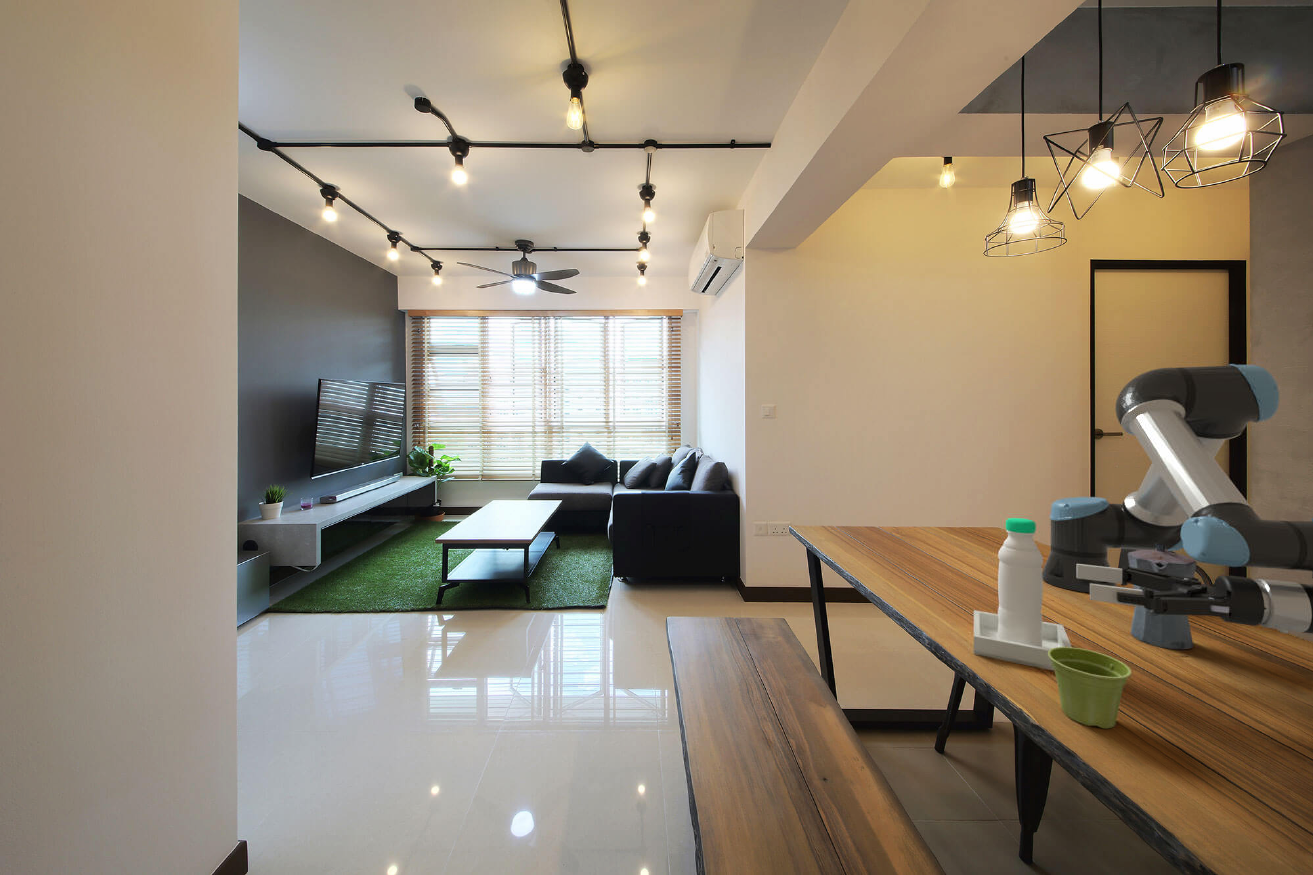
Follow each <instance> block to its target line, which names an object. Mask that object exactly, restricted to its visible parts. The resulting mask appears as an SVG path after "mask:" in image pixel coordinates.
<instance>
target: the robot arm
mask: <svg viewBox="0 0 1313 875" xmlns="http://www.w3.org/2000/svg"><path fill="white" fill-rule="evenodd" d="M1279 403H1280V391H1279V388H1278V384H1277V381H1276V379H1275V378H1274V376H1273V375H1272V374H1271V372H1270V371H1268V370H1267V369H1266V368H1264V367H1262V366H1259V365H1256V364H1235V363H1230V364H1228V365H1213V366H1211V365H1209V366H1188V367H1180V366H1179V367H1161V368H1155V369H1150V370H1149V371H1145V372H1143V373H1141V374H1139V375H1137V376H1135V377H1134V378H1132V379H1131V380H1130V381H1129V382H1128V383H1126V384H1125V385H1124V386H1123V388H1122V389H1121V390H1120V392H1119V394H1118V396H1117V398H1116V402H1115V415H1116V416H1115V417H1116V418H1117V421H1118V423H1119V424H1120V426H1121V428H1122V429H1123V430H1124V431H1125V433H1127V434H1129V435H1131V436H1135V438H1136V439H1137V441H1138V442H1139V444H1140V446H1141V447H1142V449H1143V450H1144V452H1145V454H1146V455H1147V457H1148V458H1149V460H1150V461H1151V464H1150V466H1149V468H1148V470H1147V472H1146V475H1145V476H1144V478H1143V480H1142V482H1141V484H1140V487H1138V490H1136V491H1132V492H1130V493H1129V494H1127V496H1126V497H1125V499H1124V500H1123V502H1122V503H1109V501H1108V499H1107V498H1104V497H1098V496H1097V497H1096V496H1089V497H1088V496H1076V497H1075V496H1074V497H1065V498H1059V499H1056V500H1054V502H1052V504H1051V506H1050V507H1051V508H1050V515H1049V520H1050V552H1049V554H1048V557H1047V559H1046V561H1045V564H1044V567H1043V568H1042V577H1043V581H1044V582H1045V583H1047V584H1050V585H1051V586H1055V587H1059V588H1062V589H1065V590H1070V591H1075V592H1081V593H1089V600H1090V601H1096V602H1102V603H1108V604H1109V603H1110V604H1118V605H1123V606H1132V607H1135V606H1137V607H1143V606H1144V608H1146V609H1148V610H1153V612H1154V613H1156V614H1166V615H1188V616H1202V617H1203V616H1205V617H1207V616H1209V617H1219V618H1220V619H1221V620H1222V621H1224V622H1226V623H1232V624H1239V625H1244V626H1253V627H1255V626H1258V625H1260V626H1262V627H1263V628H1268V629H1274V630H1275V629H1276V630H1278V632H1280V633H1283V634H1288V633H1289V631H1293V632H1295V633H1296V632H1298V633H1303V634H1304V633H1305V634H1313V583H1312V584H1311V583H1299V582H1293V581H1285V580H1275V579H1265V578H1257V579H1256V580H1255V579H1252V578H1251V577H1243V576H1236V575H1225V574H1223V575H1218V576H1217V577H1216V578H1215V580H1214V583H1213V584H1212V585H1208V584H1204V583H1202V581H1199V579H1200V578H1196V577H1195V576H1194V577H1192V578H1191V577H1183V576H1176V575H1171V574H1166V573H1160V572H1155V571H1149V570H1144V569H1139V568H1133V567H1130V566H1129V565H1123V567H1122V568H1117V567H1111V565H1110V563H1109V560H1108V552H1109V551H1108V549H1110V548H1111V549H1122V550H1123V549H1124V550H1134V551H1137V550H1155V549H1156V545H1155V543H1163V544H1166V547H1165V549H1167V552H1177V551H1181V550H1183V549H1184V551H1185V553H1186V554H1187V555H1188V557H1189V558H1191V559H1193V560H1195V561H1196V562H1199V563H1203V564H1209V565H1216V566H1217V565H1218V566H1225V567H1230V568H1231V567H1233V568H1237V567H1242V568H1244V567H1245V568H1246V567H1247V568H1261V569H1263V568H1264V569H1275V570H1276V569H1277V570H1279V569H1280V570H1289V571H1290V570H1292V571H1303V572H1305V571H1306V572H1312V574H1311V575H1312V579H1313V517H1312V518H1311V520H1309V521H1308V520H1307V521H1305V520H1304V521H1303V520H1301V521H1300V520H1294V521H1293V520H1279V519H1278V520H1276V519H1275V520H1274V519H1262V518H1261V517H1260V516H1259V514H1258V513H1257V512H1256V511H1255V510H1254V509H1253V508H1252V507H1251V505H1250V504H1249V503H1248V501H1247V499H1246V498H1245V497H1244V496H1243V494H1242V493H1241V492H1240V491H1239V489H1238V488H1237V487H1236V485H1235V484H1234V483H1233V481H1232V480H1231V479H1230V477H1229V476H1228V475H1227V474H1226V472H1225V470H1223V468H1222V467H1221V466H1220V465H1219V463H1218V462H1217V460H1216V459H1215V458H1216V456H1217V454H1218V453H1219V451H1220V449H1221V448H1222V446H1223V445H1224V444H1225V441H1226V440H1231V439H1234V438H1236V437H1238V436H1240V435H1242V433H1243V432H1244V430H1245V428H1246V427H1247V425H1248V423H1251V422H1252V423H1260V422H1263V421H1268V420H1270V419H1272V418H1273V416H1275V414H1276V413H1277V410H1278V408H1279ZM1117 584H1120V586H1117ZM1129 584H1130V585H1132V586H1133V585H1137V586H1141V587H1145V588H1144V595H1143V591H1142V590H1138V589H1134V588H1129V587H1122V586H1128V585H1129ZM1146 588H1148V589H1146ZM1150 589H1152V590H1150ZM1153 590H1156V591H1160V592H1154V591H1153Z"/></svg>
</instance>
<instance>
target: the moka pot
mask: <svg viewBox="0 0 1313 875" xmlns="http://www.w3.org/2000/svg"><path fill="white" fill-rule="evenodd" d="M1155 545H1156V549H1155V550H1134V551H1129V552H1128V553H1127V559H1128V566H1129V567H1133V568H1139V569H1144V570H1149V571H1155V572H1160V573H1166V574H1171V575H1176V576H1183V577H1191V578H1192V577H1194V578H1195V573H1196V568H1197V562H1198V561H1196V560H1194V559H1193V558H1191V557H1190V556H1186V555H1185V554H1181V553H1175V552H1172V551H1167V549H1165V547H1166V544H1163V543H1155ZM1132 587H1133V588H1132V589H1138V590H1142V591H1143V595H1144V588H1145V587H1141V586H1137V585H1133V584H1132ZM1146 589H1148V588H1146ZM1150 590H1152V589H1150ZM1153 591H1154V592H1160V591H1156V590H1153ZM1132 616H1133V617H1132V621H1131V626H1130V627H1131V628H1130V635H1131V636H1133V638H1136V639H1137V640H1139V641H1140V642H1142V643H1146V644H1148V645H1151V646H1155V647H1159V648H1163V649H1171V650H1189V649H1192V648H1193V647H1194V641H1193V637H1192V636H1193V635H1192V632H1191V626H1190V622H1189V621H1190V620H1189V615H1166V614H1156V613H1154V612H1153V610H1148V609H1146V608H1144V606H1143V607H1137V606H1134V610H1133V615H1132Z"/></svg>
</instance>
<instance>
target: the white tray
mask: <svg viewBox="0 0 1313 875" xmlns="http://www.w3.org/2000/svg"><path fill="white" fill-rule="evenodd" d="M998 624H999V620H998V613H993V612H986V611H980V610H973V655H977V656H980V657H986V658H992V659H995V660H1001V661H1004V662H1009V663H1015V664H1021V665H1026V666H1029V667H1035V668H1038V669H1044V670H1048V671H1049V670H1050V671H1053V672H1055V669H1054V667H1053V665H1052V661H1051V659H1050V658H1049V657H1048V651H1049V650H1050V649H1052V648H1056V647H1073V646H1072V643H1071V642H1070V639H1069V637H1068V635H1067V632H1066V630H1065V628H1064V625H1063V624H1059V623H1053V622H1048V621H1047V622H1046V621H1042V628H1041V633H1042V647H1038V646H1033V645H1028V644H1023V643H1017V642H1012V641H1007V640H1001V639H998Z"/></svg>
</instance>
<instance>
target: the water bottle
mask: <svg viewBox="0 0 1313 875" xmlns="http://www.w3.org/2000/svg"><path fill="white" fill-rule="evenodd" d="M1005 529H1006V533H1007V538H1006V539H1005V540H1004V541H1003V545H1002V546H1001V547H1000V549H999V550H998V554H997V557H998V560H999V562H998V563H999V564H998V570H997V571H998V575H997V576H998V577H997V587H998V588H997V592H998V595H997V596H998V604H999V605H998V608H997V614H998V620H999V624H998V639H1001V640H1007V641H1012V642H1017V643H1023V644H1028V645H1033V646H1038V647H1042V633H1041V628H1042V622H1043V614H1042V606H1043V595H1044V594H1043V592H1044V590H1043V589H1044V588H1043V587H1044V586H1043V584H1044V583H1043V581H1044V580H1043V577H1042V571H1043V568H1042V566H1043V563H1044V557H1043V554H1042V553H1041V551H1040V549H1038V548H1039V547H1038V545H1037V543H1036V542H1035V540H1034V538H1033V536H1035V535H1036V532H1037V531H1036V530H1037V524H1036V522H1035V521H1034V520H1032V519H1028V518H1024V517H1023V518H1022V517H1021V518H1020V517H1010V518H1009V517H1008V518H1007V519H1006V520H1005Z"/></svg>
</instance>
